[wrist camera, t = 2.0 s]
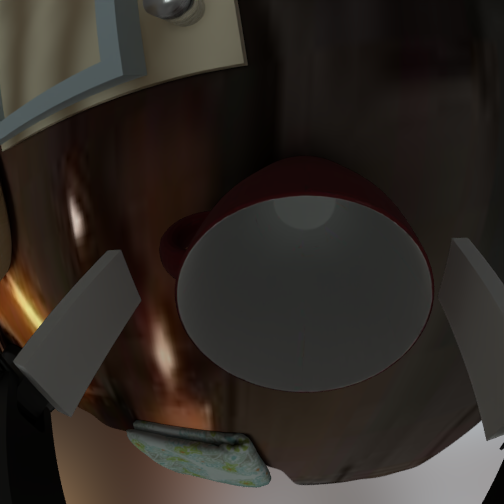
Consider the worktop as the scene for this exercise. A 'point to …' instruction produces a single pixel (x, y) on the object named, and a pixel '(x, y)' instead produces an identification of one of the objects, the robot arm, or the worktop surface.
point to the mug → (300, 278)
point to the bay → (93, 78)
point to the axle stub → (176, 10)
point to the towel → (202, 453)
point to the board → (87, 53)
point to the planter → (4, 234)
